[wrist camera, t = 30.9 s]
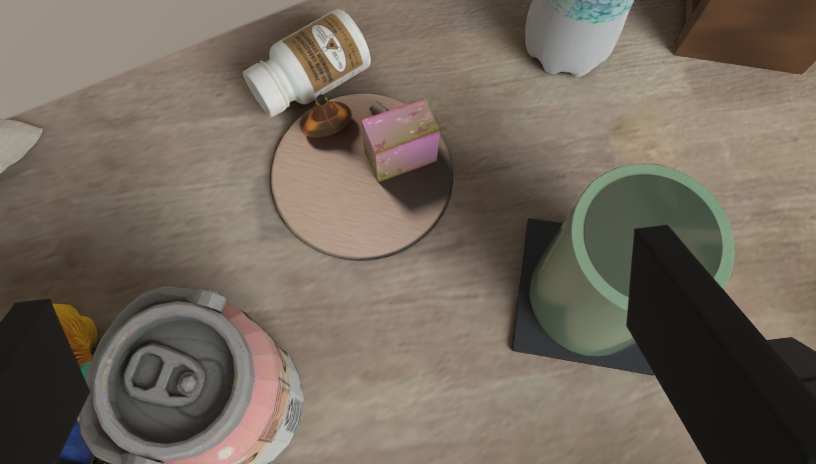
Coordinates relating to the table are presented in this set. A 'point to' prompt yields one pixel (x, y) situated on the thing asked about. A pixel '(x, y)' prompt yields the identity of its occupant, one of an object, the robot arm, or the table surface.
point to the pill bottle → (309, 63)
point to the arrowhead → (16, 141)
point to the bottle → (574, 33)
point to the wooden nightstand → (751, 33)
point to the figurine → (82, 340)
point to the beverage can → (189, 385)
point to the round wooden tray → (362, 176)
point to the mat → (527, 327)
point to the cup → (620, 252)
